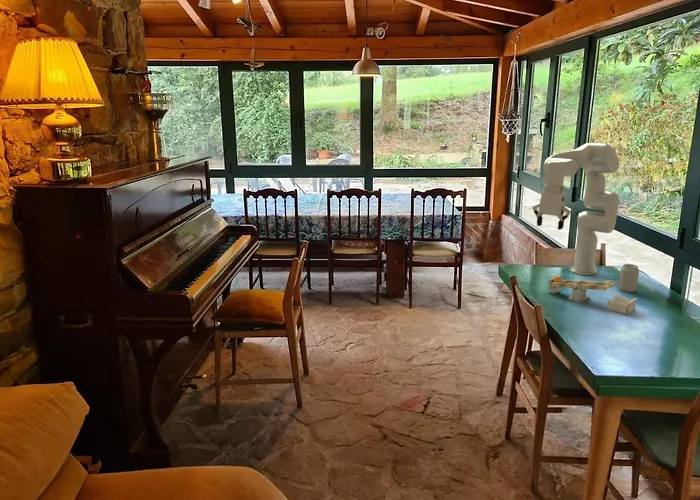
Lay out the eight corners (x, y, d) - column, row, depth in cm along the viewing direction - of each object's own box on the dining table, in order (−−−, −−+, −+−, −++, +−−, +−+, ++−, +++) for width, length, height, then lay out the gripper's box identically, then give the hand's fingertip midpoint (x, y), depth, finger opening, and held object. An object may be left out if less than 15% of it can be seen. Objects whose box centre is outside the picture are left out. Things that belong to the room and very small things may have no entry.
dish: (614, 304, 228) (615, 293, 227) (634, 309, 222) (636, 298, 221) (606, 309, 223) (608, 298, 221) (627, 314, 217) (629, 303, 215)
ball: (555, 282, 243) (555, 274, 243) (563, 282, 241) (562, 275, 240) (551, 283, 241) (551, 276, 240) (559, 284, 238) (559, 276, 238)
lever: (549, 286, 241) (549, 280, 241) (563, 279, 250) (562, 273, 250) (606, 290, 222) (606, 283, 222) (619, 283, 231) (618, 276, 231)
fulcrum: (545, 294, 240) (546, 279, 239) (556, 288, 248) (557, 274, 246) (580, 303, 229) (581, 287, 227) (590, 297, 236) (592, 282, 234)
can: (632, 287, 248) (635, 263, 245) (639, 293, 241) (642, 268, 238) (615, 287, 249) (619, 263, 246) (622, 292, 242) (625, 267, 239)
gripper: (576, 190, 226) (572, 229, 230) (538, 186, 238) (535, 223, 243) (568, 192, 221) (564, 232, 226) (530, 188, 233) (527, 225, 238)
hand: (549, 227), depth 234 cm, fingers open, 9 cm apart
